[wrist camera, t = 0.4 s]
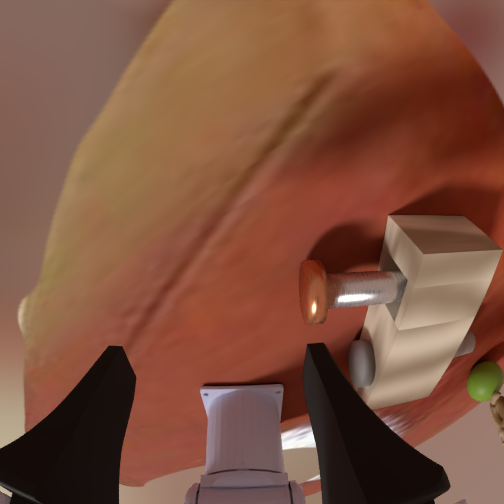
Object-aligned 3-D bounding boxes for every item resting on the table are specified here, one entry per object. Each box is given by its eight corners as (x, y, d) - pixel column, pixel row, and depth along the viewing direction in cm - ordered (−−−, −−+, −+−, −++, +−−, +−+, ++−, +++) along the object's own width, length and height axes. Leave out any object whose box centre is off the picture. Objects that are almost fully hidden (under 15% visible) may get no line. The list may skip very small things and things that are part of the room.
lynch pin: (447, 284, 22) (470, 315, 18) (297, 297, 22) (307, 338, 18) (461, 242, 20) (489, 271, 16) (301, 248, 20) (313, 286, 16)
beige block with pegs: (444, 351, 27) (462, 385, 23) (340, 370, 27) (352, 413, 23) (499, 217, 19) (535, 247, 15) (374, 215, 19) (408, 255, 15)
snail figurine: (459, 387, 33) (489, 454, 22) (462, 366, 30) (499, 441, 19) (488, 369, 32) (521, 432, 21) (494, 346, 29) (534, 416, 18)
